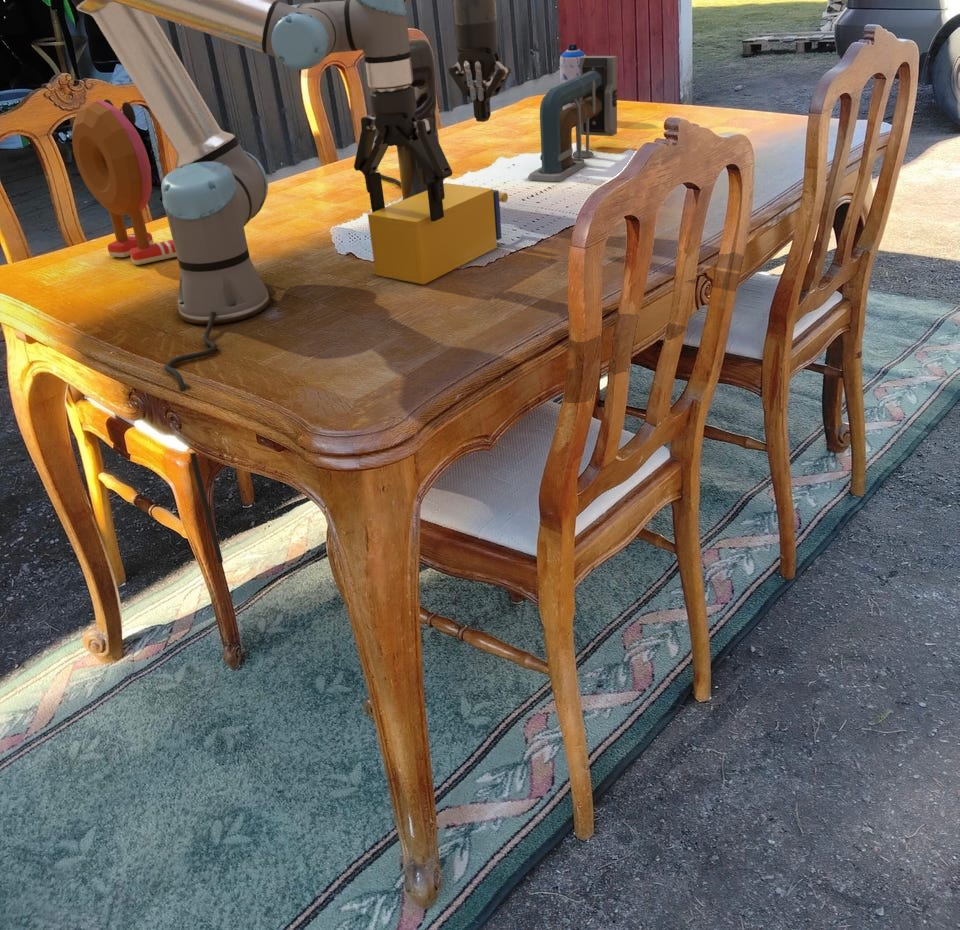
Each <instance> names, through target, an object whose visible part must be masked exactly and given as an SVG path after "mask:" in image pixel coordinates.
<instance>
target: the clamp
mask: <svg viewBox="0 0 960 930" xmlns="http://www.w3.org/2000/svg"><path fill="white" fill-rule="evenodd" d="M569 103H575V105H573V106H571V107H569V108H567V109H565V110H563V106H565V105H567V104H569ZM539 127H540V128H539V130H540V153H541V154H540V157H539V159H540V161H541V167H539V168H537V169H535V170H533V171H532V172H530V173H529V174H528V177H527V180H530V181H543V182H544V181H545V182H561V181H563V180H564V179H566V178H567V177H569V176H571V175H573V174H574V173H576V172H578V171H579V170H581V169H582V168H583V167H585V166H586V165H587V164H586V162H585V159H584V158H588V159H589V158H591V157H593V156H594V152H593V151H591V150H590V136H599V137H614V136H616V135H617V134H618V57H617V55H586V56H583V57H581V58H580V76H578V77H576V78H574V79H572V80H569V81H567V82H565V83H563V84H561V85H560V84H558V85H557V86H554V87H552V88H550V89H549V90H548V92H547V93H545V95H544V96H543V97H542V99H541V101H540V106H539ZM573 128H575V145H576V146H575V148H576V150H575V151H574V150H573V140H572V139H573V137H572V133H573V132H572V131H573ZM582 136H585V150H583V149H582Z"/></svg>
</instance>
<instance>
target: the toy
mask: <svg viewBox="0 0 960 930" xmlns="http://www.w3.org/2000/svg"><path fill="white" fill-rule="evenodd" d="M121 109H122V111H121V110H120V109H118V108H117V107H115V106H114V104H113V103H112V101H111V100H110V99H108V98H106V99H104V100H100V99H97V100H95V101H93V102H91V103H88V104H86V105H85V106H83V107H81V108H80V109H78V110H77V111H76V114H75V116H74V117H75V118H74V120H73V124H72V130H71V140H72V142H71V143H72V152H73V156H74V160H75V163H76V167H77V170H78V172H79V174H80V176H81V178H82V181H83V182H84V184H85V186H86V188H87V189H88V191H89V192H90V193H91V195H92V196H93V197H94V198H95V199H96V201H97V202H99V203H100V205H101V206H102V207H103V208H105V209H107V211H108V214H109V217H110V221H111V225H112V228H113V233H114V236H115V239H116V240H114V241H112V242H110V243H108V245H107V251H108V255H109V256H110V257H113V258H127V257H129V256H130V260H131V262H132V263H133V264H135V266H137V265H144V264H150V263H154V262H159V261H162V260H163V261H164V260H167V259H172V258H177V255H176V251H175V247H174V243H173V239H170V240H165V241H160V242H156V243H154V237H153V235H152V233H151V232H148V231H147V226H146V225H147V224H146V222H145V218H144V214H143V212H142V211H143V210H144V209H145V208H146V206H147V205H148V203H149V201H150V198H151V194H152V189H153V188H152V168H151V163H150V159H149V155H148V152H147V150H146V146H145V144H144V142H143V140H142V137H141V136H140V134H139V132H138V131H137V129H136V127H135V126H134V125H135V124H136V120H137V119H136V113H135V110H134V108H133V106H132V104H131V103H130V102H128V101H125V102H123V103H122V107H121ZM127 215H128V216H129V218H130V221H131V226H132V230H133V232H132V233H130V234H128V232H127V227H126V223H125V218H124V216H127Z"/></svg>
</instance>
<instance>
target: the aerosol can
mask: <svg viewBox="0 0 960 930" xmlns="http://www.w3.org/2000/svg"><path fill="white" fill-rule="evenodd" d="M583 56H587V55H586V54H585V52H584V51H583V50H581V49H579V48H578V44H577V43H574V44H568V48H567V49H566V50H565V51H563V52H562V53H561V55H560V56H559V79H560V81H559V83H560V84H559V85H561V84H563V83H565V82H567V81H569V80H572V79H574V78H576V77H578V76H580V58H581V57H583ZM573 105H575V103H569V104H567V105H565V106H563V110H565V109H567V108H569V107H571V106H573Z"/></svg>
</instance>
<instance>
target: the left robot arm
mask: <svg viewBox="0 0 960 930" xmlns="http://www.w3.org/2000/svg"><path fill="white" fill-rule="evenodd" d="M71 2H72V3H73V5H74V7H75V8H76V10H77V11H78V12H82V13H83V14H87V15H90V16H91V17H92V18H93V19H94V21H95V22H96V24H97V25H98V28H99V30H100V31H101V33H102V34H103V36H104V37H105V39H106V41H107V42H108V44H109V46H110V47H111V49H112V51H113V52H114V54H115V55H116V57H117V59H118V60H119V62H120V64H121V65H122V67H123V68H124V70H125V72H126V73H127V75H128V76H129V78H130V80H131V81H132V83H133V85H134V86H135V88H136V89H137V91H138V92H139V94H140V96H141V98H142V99H143V101H144V102H145V105H146V106H147V107H148V109H149V111H150V112H151V114H152V115H153V117H154V119H155V121H156V122H157V124H158V125H159V127H160V128H161V130H162V131H163V133H164V135H165V136H166V138H167V140H168V141H169V143H170V145H171V146H172V148H173V150H174V151H175V153H176V160H175V165H174V168H175V169H173V170H171V171H170V172H169V173H167V174H166V175H165V176H164V177H163V179H162V181H161V183H160V186H161V187H160V189H161V195H162V197H161V198H162V205H163V208H164V210H165V214H166V219H167V223H168V226H169V230H170V231H169V232H170V234H171V238H172V239H171V240H173V243H174V247H175V251H176V255H177V257H176V258H177V262H178V266H179V283H178V294H177V310H178V314H179V318H180V319H182V320H183V321H184V322H186V323H189V324H193V325H202V326H203V325H204V326H205V325H206V328H205V331H204V334H203V342H204V343H205V345H206V346H208V347H209V348H208V349H207V348H206V349H205V350H202V351H201V350H200V351H197V352H192V353H189V354H184V355H183V354H182V355H180V356H177V357H174V358H172V359H170V360H169V361H168V362H166V364H165V365H164V370H165V372H167V373H169V374H171V375H173V376H174V377H175V378H176V379H175V380H177V383H178V388H179V391H180V392H185V391H186V385H185V381H184V379H183V377H182V375H181V373H180V372H179V371H178V370H176V368H173V366H174V365H175V364H178V363H182V362H184V361H189V360H193V359H198V358H202V357H206V356H209V355H211V354H213V353H214V352H216V350H217V348H218V347H217V344H216V343H215V342H214V341H211V340H210V339H209V338H210V334H211V332H212V329H213V326H214V325H222V324H230V323H233V322H239V321H241V320H245V319H248V318H251V317H253V316H256V315H258V314H260V312H263V311H264V310H265V309H266V308H267V307H268V306H269V305H270V296H269V292H268V290H267V287H266V284H265V283H264V282H263V280H262V278H261V276H260V274H259V272H258V270H257V269H256V267H255V265H254V264H253V262H252V260H251V257H250V251H249V246H248V241H247V236H246V232H245V226H247V224H248V223H250V221H251V220H252V219H253V218H255V217H256V216H257V215H258V214H259V212H260V211H262V208H263V206H264V204H265V201H266V199H267V196H268V192H269V183H268V182H269V181H268V176H267V173H266V171H265V169H264V167H263V165H262V164H261V162H260V161H259V160H258V159H257V158H256V157H255V156H254V155H253V154H251V153H250V152H247V151H245V150H244V149H243V147H242V146H241V144H240V142H239V141H238V139H237V137H236V136H235V134H234V133H230V132H227V131H224V130H223V129H221V128H220V125H219V124H218V123H217V121H216V119H215V117H214V115H213V113H212V112H211V110H210V109H209V106H208V105H207V104H206V102H205V100H204V98H203V97H202V95H201V93H200V92H199V90H198V88H197V86H196V85H195V83H194V81H193V80H192V78H191V76H190V74H189V73H188V72H187V71H188V70H186V68H185V66H184V64H183V63H182V61H181V59H180V57H179V56H178V54H177V52H176V51H175V49H174V47H173V46H172V44H171V42H170V41H169V38H168V37H167V35H166V33H165V32H164V30H163V28H162V26H161V25H160V23H159V22H158V20H157V18H159V19H160V18H161V19H163V20H166V21H169V22H172V23H175V24H178V25H181V26H184V27H186V28H190V29H193V30H196V31H198V32H202V33H205V34H207V35H210V36H213V37H217V38H220V39H223V40H225V41H228V42H231V43H233V44H237V45H240V46H243V47H246V48H248V49H252V50H255V51H258V52H260V53H264V54H266V55H269V56H271V57H274V58H276V59H277V60H278V61H279V62H280V63H281V64H282V65H284V66H285V67H286V68H289V69H291V70H295V71H304V70H309V69H312V68H314V67H315V66H318V65H319V64H320V63H322V62H323V60H325V59H326V58H327V57H328V56H329V55H331V54H338V53H347V52H358V51H362V53H363V58H364V63H365V73H366V80H367V87H368V88H370V91H369V93H368V95H369V103H370V109H371V114H369V115H366V116H363V117H361V118H360V127H361V132H360V136H359V141H358V144H357V148H356V149H357V150H356V155H355V159H354V164H353V167H354V168H353V169H354V170H355V171H357V172H358V171H359V172H361V173H362V174H363V175H364V182H365V187H366V189H365V190H366V191H367V193H368V194H369V201H370V208H371V213H372V212H375V211H377V210H380V209H382V208H385V207H386V204H385V203H386V202H385V197H384V189H383V182H382V178H381V175H382V174H381V172H379V169H378V168H379V166H380V164H381V162H382V160H383V158H384V157H385V154H386V152H387V150H388V149H389V147H393V146H395V147H397V146H398V147H403V146H404V148H405V149H406V150H408V151H410V153H411V154H412V155H413V157H414V158H415V160H416V161H417V162H418V164H419V165H420V167H421V168H422V169H423V171H424V172H425V174H426V175H427V177H428V178H429V179H430V181H429V182H427V191H428V200H429V209H430V218H431V221H436V220H439V219H441V218H443V217H444V211H443V202H442V200H443V199H444V197H445V194H444V185H443V184H444V180H445V179H448V178H450V177H451V176H453V170H452V167H451V165H450V164H449V161H448V160H447V159H448V158H447V157H446V155H445V153H444V151H443V148H442V146H441V144H440V141H439V142H438V140H437V138H436V136H435V134H434V131H433V125H432V121H431V119H430V118H426V119H423V120H416V117H415V110H416V107H417V105H416V96H415V88H413V86H411V85H410V84H411V83H412V82H413V72H412V63H411V57H410V56H411V54H410V45H409V40H410V36H409V26H408V25H409V24H408V16H407V10H406V5H405V4H404V0H337V1H336V0H335V1H318V2H302V3H298V4H292V5H290V4H287V3H284V2H280V1H278V0H71ZM156 17H157V18H156ZM376 132H377V133H378V134H377V136H376ZM418 133H419V135H418ZM375 136H376V138H375ZM412 139H413V140H414V141H412ZM375 172H377V173H375ZM434 173H435V174H434ZM189 455H190V459H191V460H190V461H191V464H192V468H193V472H194V477H195V480H196V485H197V488H198V492H199V496H200V499H201V503H202V507H203V511H204V514H205V518H206V522H207V525H208V526H207V527H208V529H209V533H210V537H211V540H212V545H213V548H214V551H215V556H216V560H217V563H218V564H223V562H224V560H223V555H222V552H221V547H220V543H219V540H218V535H217V532H216V528H215V525H214V521H213V517H212V512H211V510H210V506H209V501H208V497H207V494H206V490H205V487H204V486H205V485H204V482H203V479H202V475H201V470H200V467H199V462H198V457H197V453H196V452H191V453H189Z"/></svg>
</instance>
